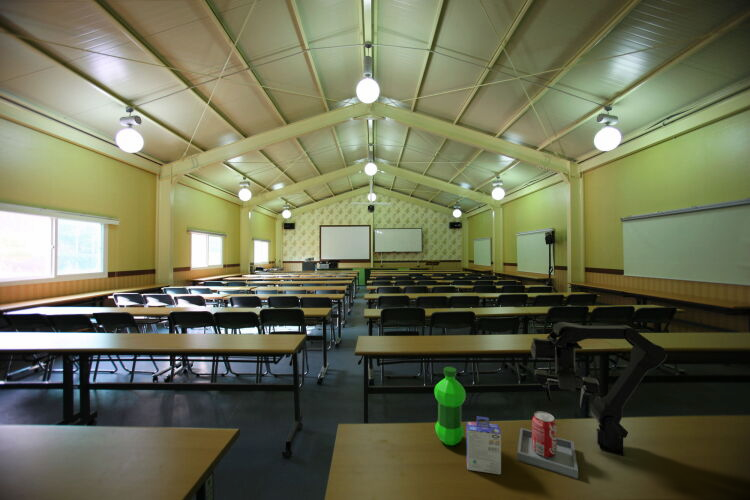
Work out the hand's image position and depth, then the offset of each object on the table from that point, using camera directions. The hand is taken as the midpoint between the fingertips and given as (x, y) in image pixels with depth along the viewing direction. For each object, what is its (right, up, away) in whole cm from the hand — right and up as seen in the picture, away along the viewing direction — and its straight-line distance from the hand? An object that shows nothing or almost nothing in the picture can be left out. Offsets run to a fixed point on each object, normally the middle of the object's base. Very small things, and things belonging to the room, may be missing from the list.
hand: (565, 404), depth 105 cm
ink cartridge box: (-33, -13, -12) cm, 37 cm away
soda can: (-11, -13, -6) cm, 18 cm away
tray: (-10, -13, -6) cm, 18 cm away
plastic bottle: (-40, -13, +1) cm, 42 cm away
